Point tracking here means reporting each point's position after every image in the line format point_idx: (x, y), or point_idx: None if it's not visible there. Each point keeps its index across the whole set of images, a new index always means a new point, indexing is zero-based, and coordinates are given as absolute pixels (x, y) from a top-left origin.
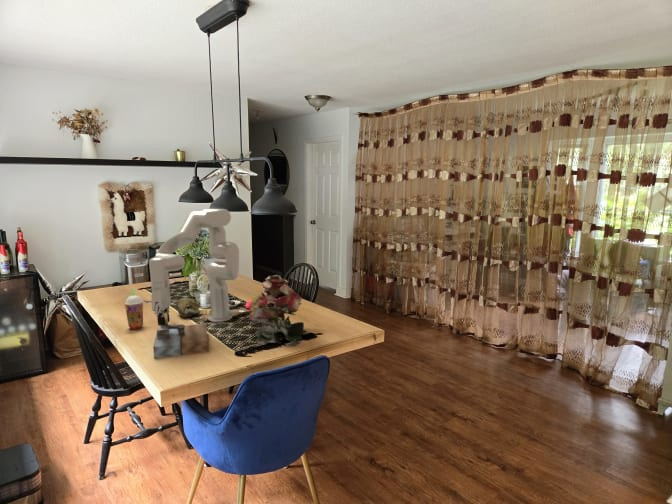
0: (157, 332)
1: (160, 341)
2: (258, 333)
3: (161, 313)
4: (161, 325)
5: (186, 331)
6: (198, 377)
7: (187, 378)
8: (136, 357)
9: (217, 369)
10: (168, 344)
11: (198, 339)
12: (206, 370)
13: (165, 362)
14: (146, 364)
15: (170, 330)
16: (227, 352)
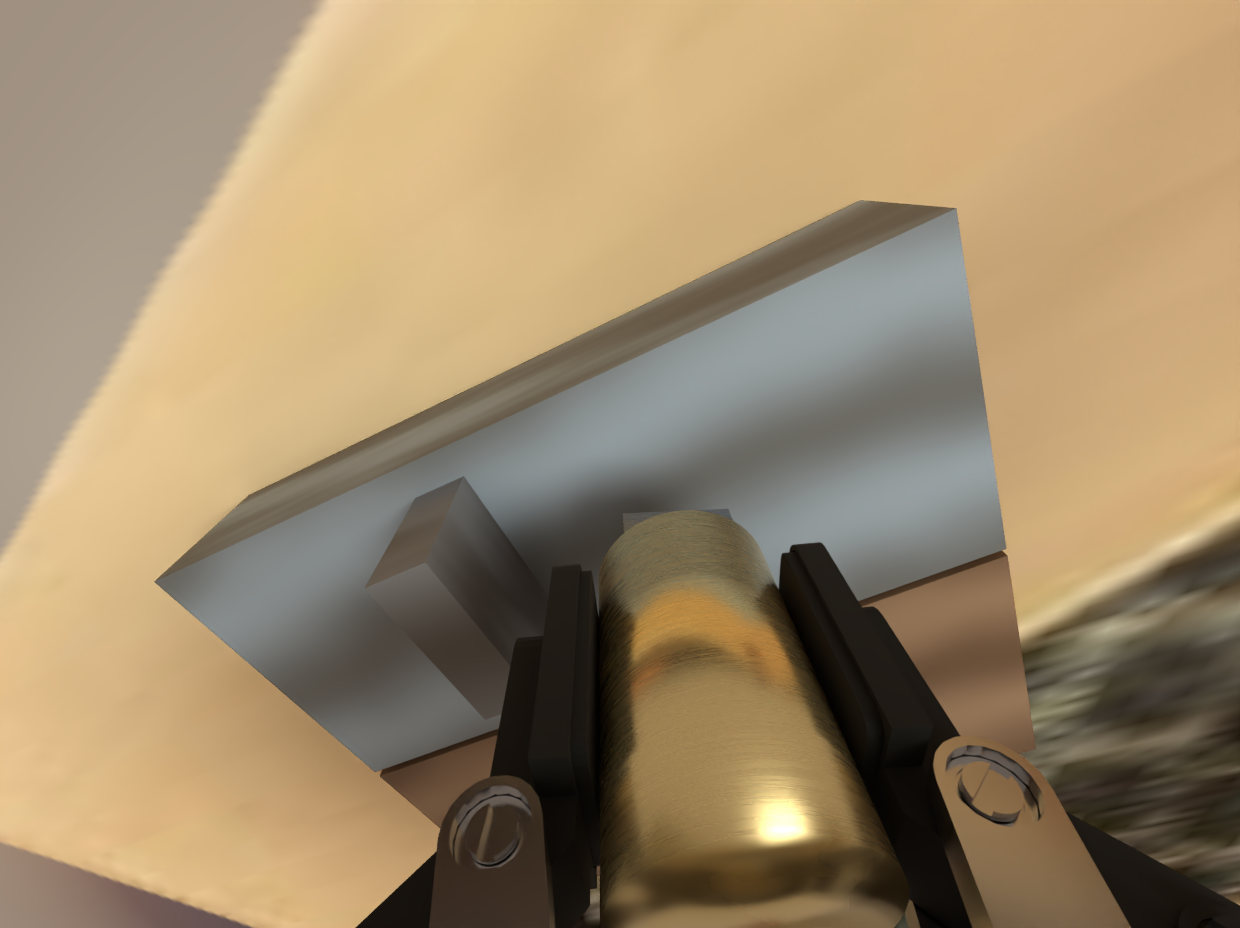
0: (380, 582)
1: (369, 567)
2: None
3: (655, 921)
4: (599, 593)
5: None
6: (134, 871)
7: (85, 837)
8: (177, 269)
9: (279, 903)
10: (313, 690)
11: None
12: (240, 871)
13: None
14: (91, 496)
15: (826, 487)
16: None
